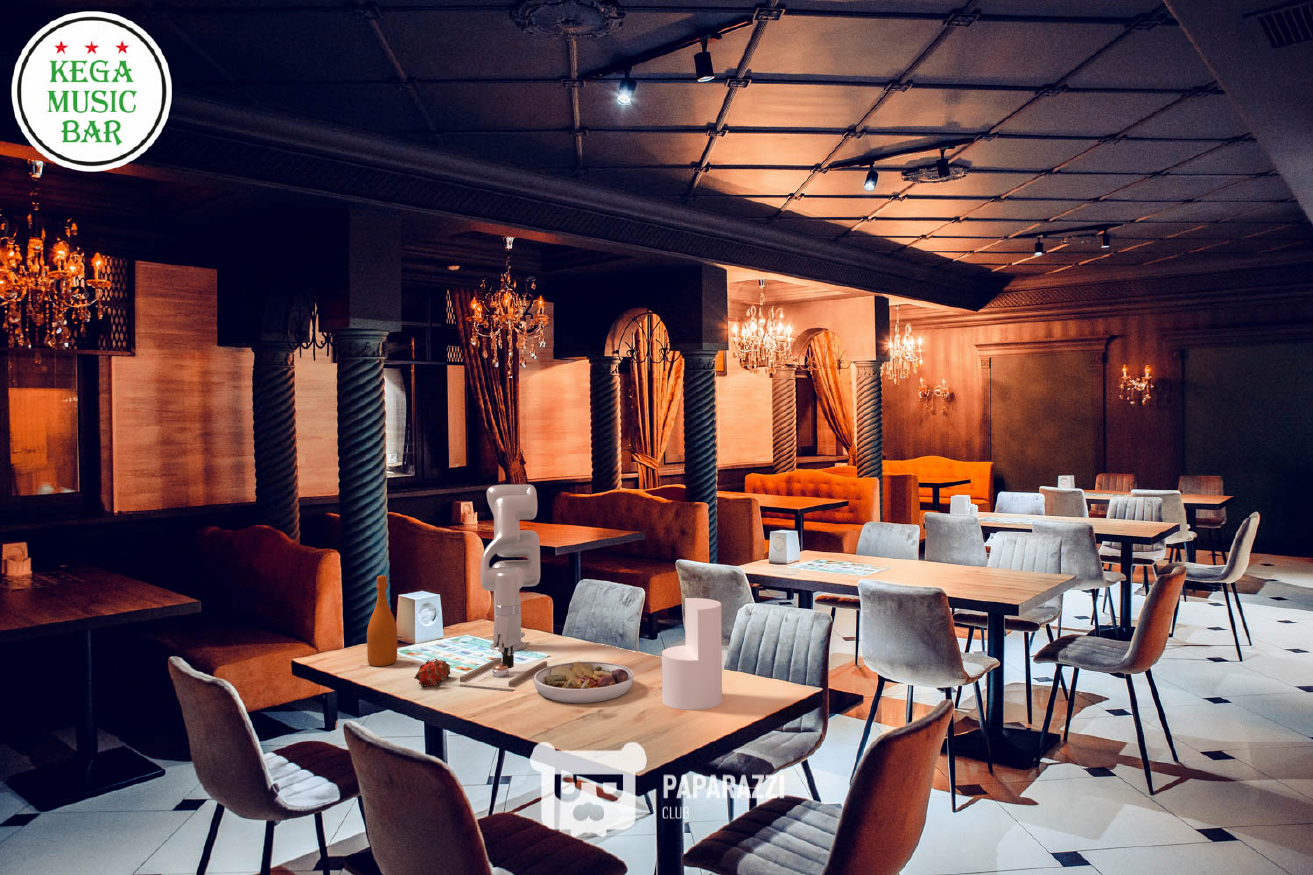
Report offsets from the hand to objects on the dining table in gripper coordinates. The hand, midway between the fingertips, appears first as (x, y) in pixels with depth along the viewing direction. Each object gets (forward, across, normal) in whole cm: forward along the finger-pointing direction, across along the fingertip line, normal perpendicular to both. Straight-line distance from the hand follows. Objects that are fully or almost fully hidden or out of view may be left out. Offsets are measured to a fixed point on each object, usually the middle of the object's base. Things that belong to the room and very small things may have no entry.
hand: (508, 667), depth 273 cm
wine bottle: (+3, -2, -49) cm, 49 cm away
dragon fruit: (+3, +15, -18) cm, 24 cm away
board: (+3, +2, 0) cm, 4 cm away
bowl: (+4, +6, +29) cm, 30 cm away
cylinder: (+3, +6, +63) cm, 63 cm away
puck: (+2, +4, 0) cm, 4 cm away
